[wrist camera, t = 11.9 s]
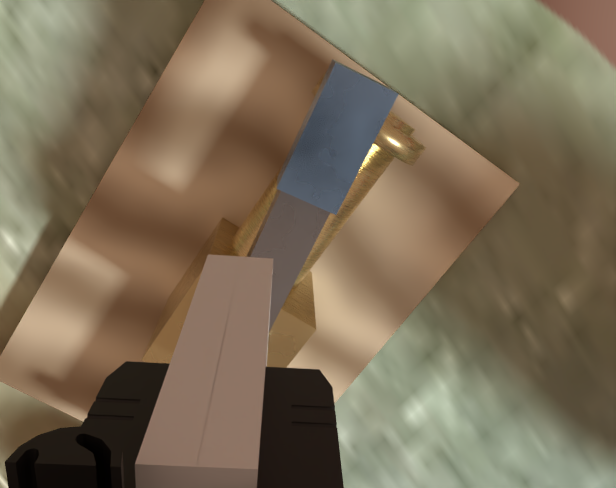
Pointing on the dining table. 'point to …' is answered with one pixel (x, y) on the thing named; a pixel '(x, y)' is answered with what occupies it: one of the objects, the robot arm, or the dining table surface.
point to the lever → (319, 171)
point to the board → (242, 212)
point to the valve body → (300, 302)
